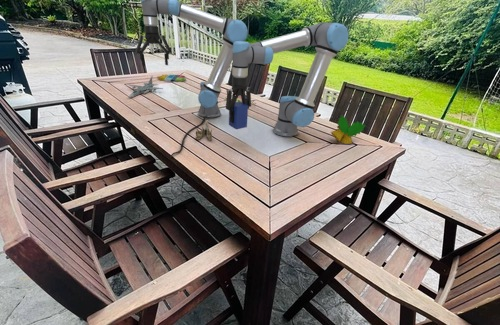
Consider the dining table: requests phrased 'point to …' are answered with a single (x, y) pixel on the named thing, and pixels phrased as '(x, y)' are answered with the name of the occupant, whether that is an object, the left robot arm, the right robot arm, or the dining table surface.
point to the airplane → (143, 88)
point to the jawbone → (204, 132)
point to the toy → (240, 100)
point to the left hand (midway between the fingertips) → (155, 65)
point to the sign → (172, 78)
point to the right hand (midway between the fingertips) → (238, 121)
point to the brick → (239, 116)
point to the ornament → (347, 130)
